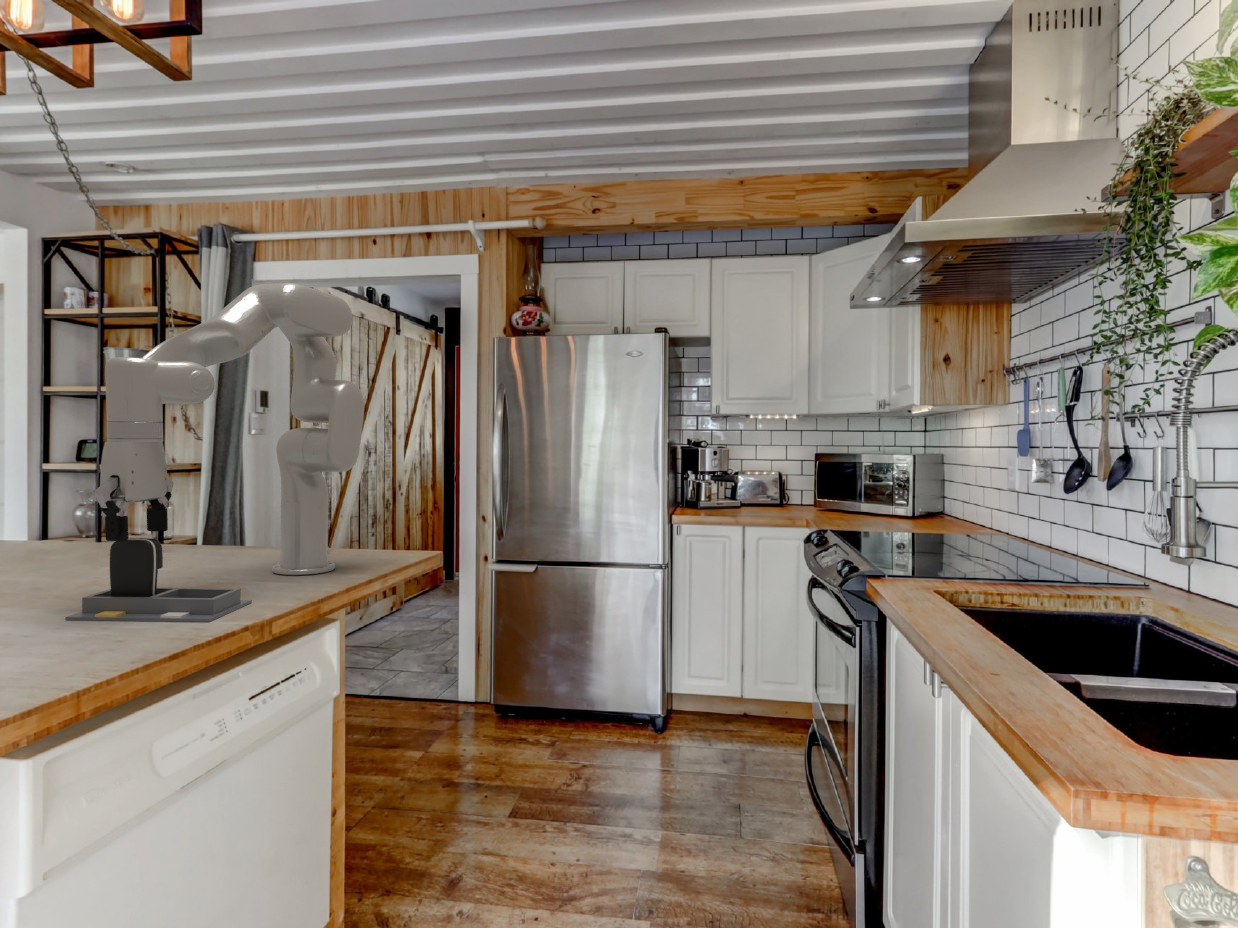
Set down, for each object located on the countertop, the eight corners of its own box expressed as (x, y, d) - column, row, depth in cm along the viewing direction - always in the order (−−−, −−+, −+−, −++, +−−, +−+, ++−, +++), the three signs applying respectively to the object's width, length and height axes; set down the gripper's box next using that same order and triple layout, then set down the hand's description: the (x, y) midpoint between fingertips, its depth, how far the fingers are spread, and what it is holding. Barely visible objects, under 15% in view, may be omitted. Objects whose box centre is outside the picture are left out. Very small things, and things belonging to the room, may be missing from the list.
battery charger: (166, 603, 114) (166, 537, 113) (151, 609, 110) (151, 540, 110) (124, 603, 113) (124, 536, 113) (107, 608, 110) (108, 539, 109)
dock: (124, 600, 117) (124, 583, 117) (251, 602, 118) (251, 585, 118) (65, 620, 104) (65, 601, 104) (209, 622, 105) (209, 603, 105)
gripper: (147, 432, 118) (149, 527, 119) (71, 433, 101) (74, 544, 102) (190, 433, 119) (192, 528, 120) (121, 434, 101) (124, 545, 102)
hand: (138, 535), depth 111 cm, fingers open, 9 cm apart
